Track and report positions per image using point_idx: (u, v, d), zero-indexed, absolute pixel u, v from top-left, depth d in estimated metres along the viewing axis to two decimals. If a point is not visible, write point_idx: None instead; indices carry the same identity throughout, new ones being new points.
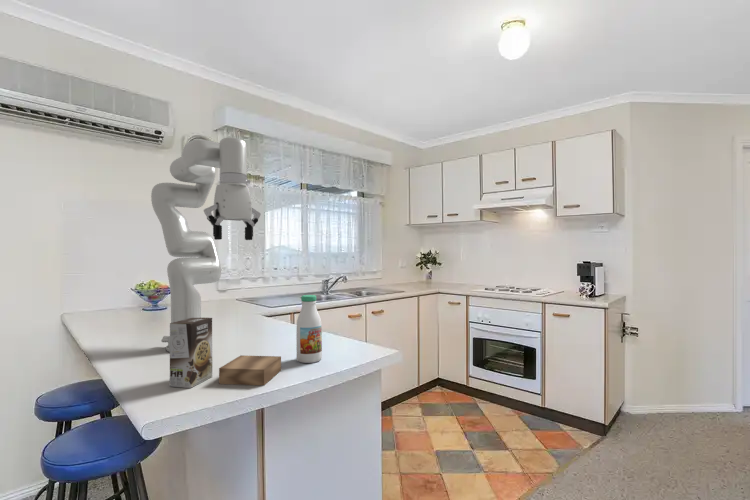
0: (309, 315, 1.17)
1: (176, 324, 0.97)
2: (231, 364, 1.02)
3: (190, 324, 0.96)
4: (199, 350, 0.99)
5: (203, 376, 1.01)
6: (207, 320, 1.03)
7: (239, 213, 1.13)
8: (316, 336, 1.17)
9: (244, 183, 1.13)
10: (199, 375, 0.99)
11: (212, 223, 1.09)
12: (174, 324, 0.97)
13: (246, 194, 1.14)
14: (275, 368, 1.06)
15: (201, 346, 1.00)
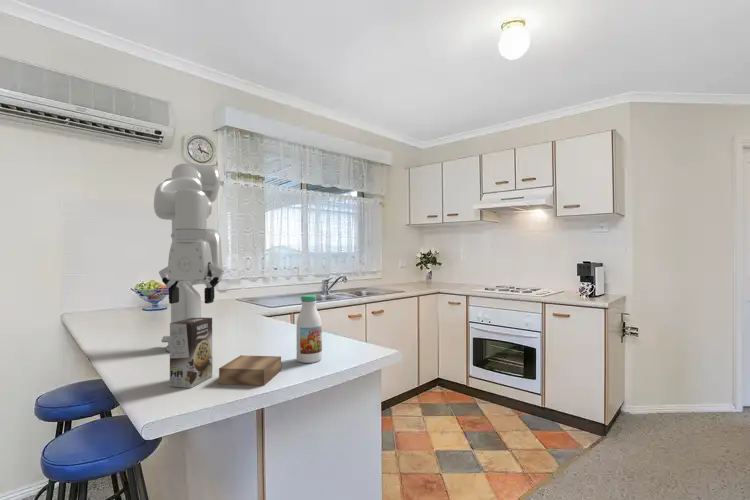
0: (309, 315, 1.17)
1: (176, 324, 0.97)
2: (231, 364, 1.02)
3: (190, 324, 0.96)
4: (199, 350, 0.99)
5: (203, 376, 1.01)
6: (207, 320, 1.03)
7: None
8: (316, 336, 1.17)
9: None
10: (199, 375, 0.99)
11: (213, 285, 1.00)
12: (174, 324, 0.97)
13: None
14: (275, 368, 1.06)
15: (201, 346, 1.00)
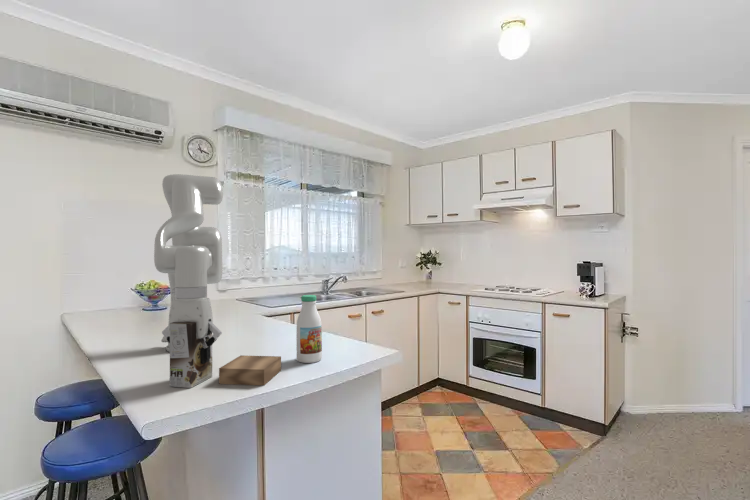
0: (309, 315, 1.17)
1: (176, 324, 0.97)
2: (231, 364, 1.02)
3: (190, 324, 0.96)
4: (199, 350, 0.99)
5: (203, 376, 1.01)
6: None
7: None
8: (316, 336, 1.17)
9: None
10: (199, 375, 0.99)
11: (210, 345, 1.00)
12: (174, 324, 0.97)
13: None
14: (275, 368, 1.06)
15: (201, 346, 1.00)
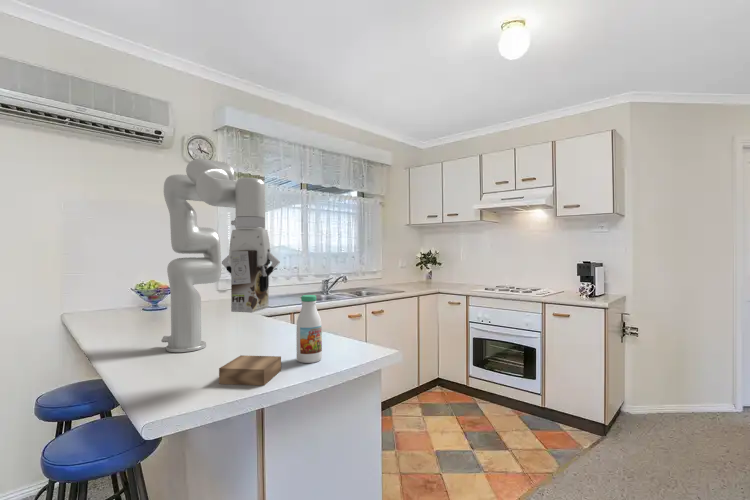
0: (309, 315, 1.17)
1: (238, 251, 1.00)
2: (231, 364, 1.02)
3: (252, 251, 1.00)
4: (258, 277, 1.02)
5: (261, 304, 1.04)
6: None
7: None
8: (316, 336, 1.17)
9: None
10: (258, 302, 1.02)
11: (268, 274, 1.03)
12: (236, 251, 1.00)
13: None
14: (275, 368, 1.06)
15: (260, 275, 1.03)
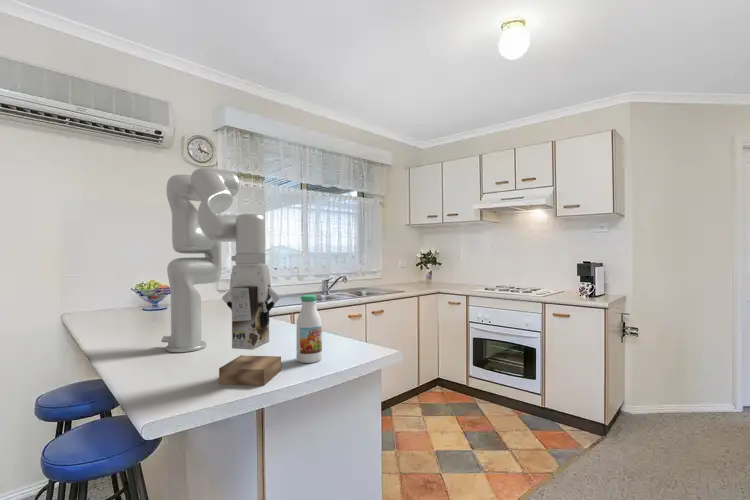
0: (309, 315, 1.17)
1: (238, 288, 1.00)
2: (231, 364, 1.02)
3: (252, 288, 1.00)
4: (259, 313, 1.02)
5: (262, 339, 1.04)
6: None
7: None
8: (316, 336, 1.17)
9: None
10: (259, 338, 1.02)
11: (269, 309, 1.03)
12: (236, 288, 1.00)
13: None
14: (275, 368, 1.06)
15: (261, 310, 1.03)
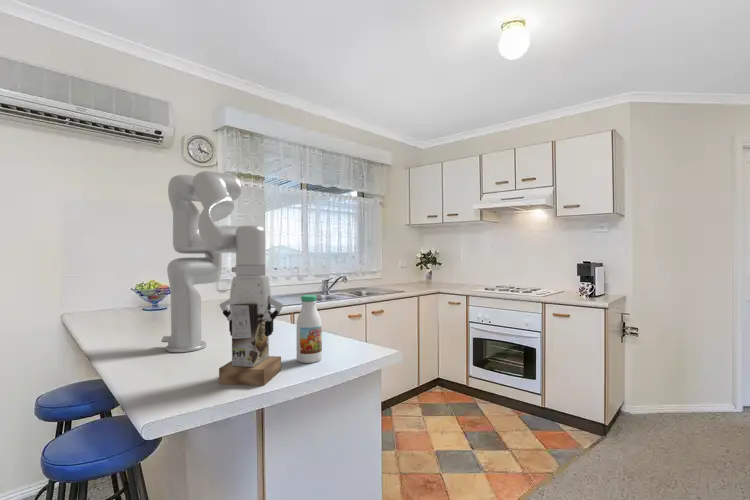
0: (309, 315, 1.17)
1: (238, 305, 1.00)
2: (231, 364, 1.02)
3: (252, 305, 1.00)
4: (259, 331, 1.02)
5: (262, 356, 1.04)
6: None
7: None
8: (316, 336, 1.17)
9: None
10: (259, 355, 1.03)
11: (273, 318, 1.03)
12: (236, 305, 1.00)
13: None
14: (275, 368, 1.06)
15: (261, 327, 1.03)
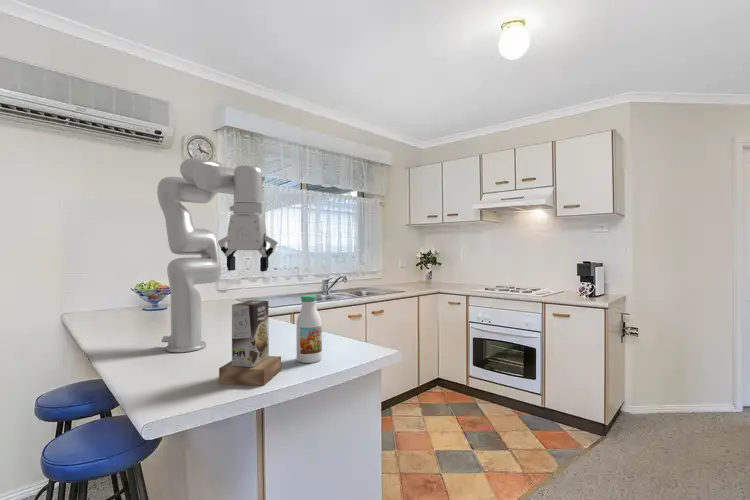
0: (309, 315, 1.17)
1: (238, 305, 1.00)
2: (231, 364, 1.02)
3: (252, 305, 1.00)
4: (259, 331, 1.02)
5: (262, 356, 1.04)
6: (265, 303, 1.06)
7: None
8: (316, 336, 1.17)
9: None
10: (259, 355, 1.03)
11: (268, 255, 1.09)
12: (236, 305, 1.00)
13: None
14: (275, 368, 1.06)
15: (261, 327, 1.03)
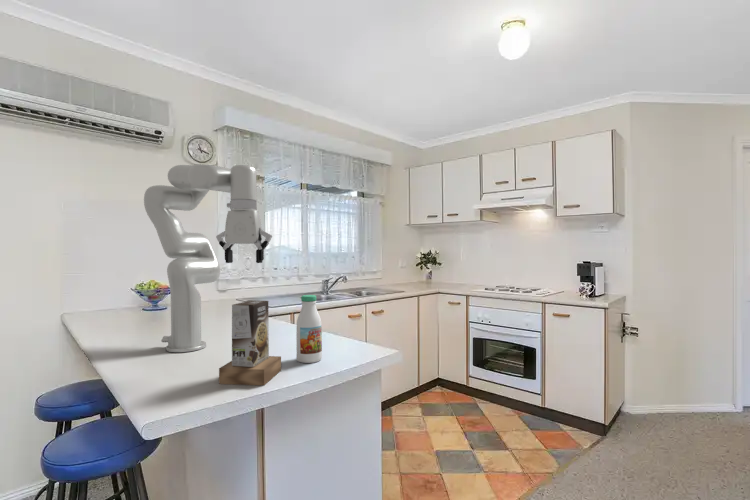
0: (309, 315, 1.17)
1: (238, 305, 1.00)
2: (231, 364, 1.02)
3: (252, 305, 1.00)
4: (259, 331, 1.02)
5: (262, 356, 1.04)
6: (265, 303, 1.06)
7: None
8: (316, 336, 1.17)
9: None
10: (259, 355, 1.03)
11: (263, 247, 1.17)
12: (236, 305, 1.00)
13: None
14: (275, 368, 1.06)
15: (261, 327, 1.03)
